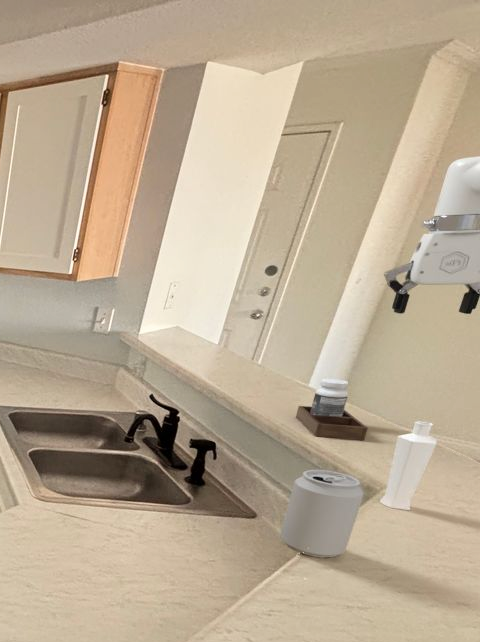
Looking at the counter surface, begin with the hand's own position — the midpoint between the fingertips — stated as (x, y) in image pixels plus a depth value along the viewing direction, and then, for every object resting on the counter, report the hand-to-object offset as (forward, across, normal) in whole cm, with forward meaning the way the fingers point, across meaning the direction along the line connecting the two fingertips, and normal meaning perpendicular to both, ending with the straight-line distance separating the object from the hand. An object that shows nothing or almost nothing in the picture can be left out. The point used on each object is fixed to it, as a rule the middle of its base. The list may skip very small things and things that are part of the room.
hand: (431, 312), depth 121 cm
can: (+28, -28, -65) cm, 76 cm away
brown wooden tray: (+28, -9, +6) cm, 30 cm away
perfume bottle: (+28, -11, -41) cm, 51 cm away
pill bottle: (+27, -9, +10) cm, 30 cm away
